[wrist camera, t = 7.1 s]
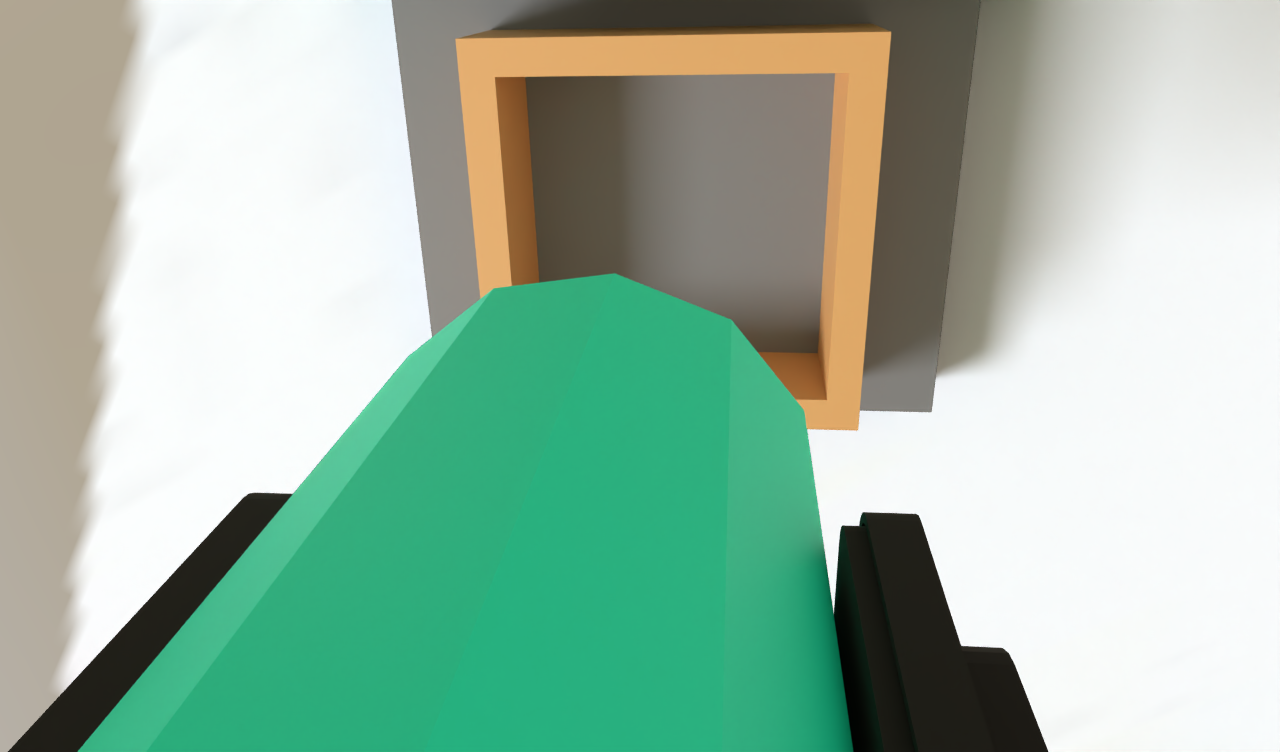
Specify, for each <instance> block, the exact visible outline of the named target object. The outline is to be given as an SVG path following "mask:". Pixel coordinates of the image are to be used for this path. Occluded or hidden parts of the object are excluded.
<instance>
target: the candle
mask: <svg viewBox="0 0 1280 752" xmlns="http://www.w3.org/2000/svg"><path fill="white" fill-rule="evenodd" d="M78 752H853V745H852V738H851V731H850V724H849V717H848V710H847V703H846V697H845V690H844V683H843V676H842V669H841V662H840V655H839V648H838V641H837V634H836V627H835V620H834V613H833V606H832V600H831V593H830V586H829V579H828V572H827V565H826V558H825V551H824V544H823V537H822V530H821V523H820V516H819V509H818V503H817V496H816V489H815V482H814V475H813V468H812V461H811V454H810V447H809V440H808V433H807V426H806V419H805V412H804V410H803V408H802V407H801V406H800V405H799V403H798V402H797V401H796V400H795V398H794V397H793V396H792V395H791V393H790V392H789V391H788V390H787V388H786V387H785V386H784V385H783V383H782V382H781V381H780V380H779V378H778V377H777V376H776V375H775V373H774V372H773V371H772V370H771V368H770V367H769V366H768V365H767V363H766V362H765V361H764V360H763V358H762V357H761V356H760V355H759V353H758V352H757V351H756V350H755V348H754V347H753V346H752V345H751V343H750V342H749V341H748V340H747V338H746V337H745V336H744V335H743V333H742V332H741V331H740V330H739V328H738V327H737V326H736V325H735V324H734V322H733V321H732V320H731V319H728V318H726V317H723V316H721V315H718V314H716V313H713V312H711V311H708V310H706V309H703V308H701V307H698V306H696V305H693V304H691V303H688V302H686V301H683V300H681V299H678V298H676V297H673V296H671V295H668V294H666V293H663V292H660V291H658V290H655V289H653V288H650V287H648V286H645V285H643V284H640V283H638V282H635V281H633V280H630V279H628V278H625V277H623V276H620V275H618V274H615V273H613V274H605V275H597V276H589V277H581V278H573V279H565V280H557V281H548V282H540V283H532V284H524V285H516V286H508V287H500V288H493V289H492V290H491V291H490V292H488V293H487V294H486V295H485V296H483V297H482V298H481V299H480V300H478V301H477V302H476V303H474V304H473V305H472V306H471V307H469V308H468V309H467V310H466V311H464V312H463V313H462V314H461V315H459V316H458V317H457V318H456V319H454V320H453V321H452V322H451V323H449V324H448V325H447V326H446V327H444V328H443V329H442V330H441V331H439V332H438V333H437V334H436V335H434V336H433V337H432V338H431V339H429V340H428V341H427V342H426V343H424V344H423V345H422V346H421V347H419V348H418V349H417V350H416V351H414V352H413V353H412V354H411V355H409V356H408V357H407V358H406V360H405V361H404V362H403V363H402V364H401V366H400V367H399V368H398V369H397V370H396V372H395V373H394V374H393V375H392V376H391V377H390V379H389V380H388V381H387V382H386V383H385V385H384V386H383V387H382V388H381V389H380V391H379V392H378V393H377V394H376V395H375V397H374V398H373V399H372V400H371V401H370V403H369V404H368V405H367V406H366V407H365V409H364V410H363V411H362V412H361V413H360V415H359V416H358V417H357V418H356V419H355V421H354V422H353V423H352V424H351V425H350V427H349V428H348V429H347V430H346V431H345V432H344V434H343V435H342V436H341V437H340V438H339V440H338V441H337V442H336V443H335V444H334V446H333V447H332V448H331V449H330V450H329V452H328V453H327V454H326V455H325V456H324V458H323V459H322V460H321V461H320V462H319V464H318V465H317V466H316V467H315V468H314V470H313V471H312V472H311V473H310V474H309V476H308V477H307V478H306V479H305V480H304V481H303V483H302V484H301V485H300V486H299V487H298V489H297V490H296V491H295V492H294V493H293V495H292V496H291V497H290V498H289V499H288V501H287V502H286V503H285V504H284V505H283V507H282V508H281V509H280V510H279V511H278V513H277V514H276V515H275V516H274V517H273V519H272V520H271V521H270V522H269V523H268V525H267V526H266V527H265V528H264V529H263V531H262V532H261V533H260V534H259V535H258V536H257V538H256V539H255V540H254V541H253V542H252V544H251V545H250V546H249V547H248V548H247V550H246V551H245V552H244V553H243V554H242V556H241V557H240V558H239V559H238V560H237V562H236V563H235V564H234V565H233V566H232V568H231V569H230V570H229V571H228V572H227V574H226V575H225V576H224V577H223V578H222V580H221V581H220V582H219V583H218V584H217V586H216V587H215V588H214V589H213V590H212V591H211V593H210V594H209V595H208V596H207V597H206V599H205V600H204V601H203V602H202V603H201V605H200V606H199V607H198V608H197V609H196V611H195V612H194V613H193V614H192V615H191V617H190V618H189V619H188V620H187V621H186V623H185V624H184V625H183V626H182V627H181V629H180V630H179V631H178V632H177V633H176V635H175V636H174V637H173V638H172V639H171V640H170V642H169V643H168V644H167V645H166V646H165V648H164V649H163V650H162V651H161V652H160V654H159V655H158V656H157V657H156V658H155V660H154V661H153V662H152V663H151V664H150V666H149V667H148V668H147V669H146V670H145V672H144V673H143V674H142V675H141V676H140V678H139V679H138V680H137V681H136V682H135V684H134V685H133V686H132V687H131V688H130V690H129V691H128V692H127V693H126V694H125V695H124V697H123V698H122V699H121V700H120V701H119V703H118V704H117V705H116V706H115V707H114V709H113V710H112V711H111V712H110V713H109V715H108V716H107V717H106V718H105V719H104V721H103V722H102V723H101V724H100V725H99V727H98V728H97V729H96V730H95V731H94V733H93V734H92V735H91V736H90V737H89V739H88V740H87V741H86V742H85V743H84V744H83V746H82V747H81V748H80V749H79V750H78Z"/></svg>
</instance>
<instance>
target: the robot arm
mask: <svg viewBox="0 0 1280 752" xmlns="http://www.w3.org/2000/svg"><path fill="white" fill-rule="evenodd" d="M292 495H293V494H279V493H250V494H248V495H247V496H245V497H244V498H243V499H242V500H241V501H240V502H239V503H238V504H237V505H236V506H235V507H234V508H233V509H232V511H231V512H230V513H229V514H228V515H227V516H226V517H225V518H224V519H223V520H222V521H221V522H220V524H219V525H218V526H217V527H216V528H215V529H214V530H213V531H212V532H211V533H210V534H209V535H208V536H207V538H206V539H205V540H204V541H203V542H202V543H201V544H200V545H199V546H198V547H197V548H196V549H195V550H194V552H193V553H192V554H191V555H190V556H189V557H188V558H187V559H186V560H185V561H184V562H183V563H182V564H181V566H180V567H179V568H178V569H177V570H176V571H175V572H174V573H173V574H172V575H171V576H170V577H169V579H168V580H167V581H166V582H165V583H164V584H163V585H162V586H161V587H160V588H159V589H158V590H157V591H156V593H155V594H154V595H153V596H152V597H151V598H150V599H149V600H148V601H147V602H146V603H145V604H144V605H143V607H142V608H141V609H140V610H139V611H138V612H137V613H136V614H135V615H134V616H133V617H132V618H131V620H130V621H129V622H128V623H127V624H126V625H125V626H124V627H123V628H122V629H121V630H120V631H119V632H118V634H117V635H116V636H115V637H114V638H113V639H112V640H111V641H110V642H109V643H108V644H107V645H106V646H105V648H104V649H103V650H102V651H101V652H100V653H99V654H98V655H97V656H96V657H95V658H94V659H93V661H92V662H91V663H90V664H89V665H88V666H87V667H86V668H85V669H84V670H83V671H82V672H81V673H80V675H79V676H78V677H77V678H76V679H75V680H74V681H73V682H72V683H71V684H70V685H69V686H68V687H67V689H66V690H65V691H64V692H63V693H62V694H61V695H60V696H59V697H58V698H57V699H56V701H55V702H54V703H53V704H52V705H51V706H50V707H49V708H48V709H47V710H46V711H45V713H43V714H42V716H41V717H40V718H39V719H38V720H37V721H36V722H35V723H34V724H33V725H32V726H31V727H30V728H29V730H28V731H27V732H26V733H25V734H24V735H23V736H22V737H21V738H20V739H19V740H18V741H17V743H16V744H15V745H14V746H13V747H12V748H11V749H10V750H9V751H8V752H78V750H79V749H80V748H81V747H82V746H83V744H84V743H85V742H86V741H87V740H88V739H89V737H90V736H91V735H92V734H93V733H94V731H95V730H96V729H97V728H98V727H99V725H100V724H101V723H102V722H103V721H104V719H105V718H106V717H107V716H108V715H109V713H110V712H111V711H112V710H113V709H114V707H115V706H116V705H117V704H118V703H119V701H120V700H121V699H122V698H123V697H124V695H125V694H126V693H127V692H128V691H129V690H130V688H131V687H132V686H133V685H134V684H135V682H136V681H137V680H138V679H139V678H140V676H141V675H142V674H143V673H144V672H145V670H146V669H147V668H148V667H149V666H150V664H151V663H152V662H153V661H154V660H155V658H156V657H157V656H158V655H159V654H160V652H161V651H162V650H163V649H164V648H165V646H166V645H167V644H168V643H169V642H170V640H171V639H172V638H173V637H174V636H175V635H176V633H177V632H178V631H179V630H180V629H181V627H182V626H183V625H184V624H185V623H186V621H187V620H188V619H189V618H190V617H191V615H192V614H193V613H194V612H195V611H196V609H197V608H198V607H199V606H200V605H201V603H202V602H203V601H204V600H205V599H206V597H207V596H208V595H209V594H210V593H211V591H212V590H213V589H214V588H215V587H216V586H217V584H218V583H219V582H220V581H221V580H222V578H223V577H224V576H225V575H226V574H227V572H228V571H229V570H230V569H231V568H232V566H233V565H234V564H235V563H236V562H237V560H238V559H239V558H240V557H241V556H242V554H243V553H244V552H245V551H246V550H247V548H248V547H249V546H250V545H251V544H252V542H253V541H254V540H255V539H256V538H257V536H258V535H259V534H260V533H261V532H262V531H263V529H264V528H265V527H266V526H267V525H268V523H269V522H270V521H271V520H272V519H273V517H274V516H275V515H276V514H277V513H278V511H279V510H280V509H281V508H282V507H283V505H284V504H285V503H286V502H287V501H288V499H289V498H290V497H291V496H292ZM834 620H835V627H836V634H837V641H838V648H839V655H840V662H841V669H842V676H843V683H844V690H845V697H846V703H847V710H848V717H849V724H850V731H851V738H852V745H853V752H1048V750H1047V747H1046V744H1045V742H1044V739H1043V737H1042V734H1041V732H1040V729H1039V726H1038V724H1037V721H1036V719H1035V716H1034V713H1033V711H1032V708H1031V706H1030V703H1029V701H1028V698H1027V695H1026V693H1025V690H1024V688H1023V685H1022V683H1021V680H1020V677H1019V675H1018V672H1017V670H1016V667H1015V665H1014V663H1013V661H1012V659H1011V657H1010V655H1009V653H1008V652H1007V651H1005V650H1004V649H1003V648H991V647H969V646H961V644H960V641H959V638H958V635H957V632H956V629H955V626H954V623H953V619H952V616H951V613H950V610H949V607H948V604H947V601H946V598H945V594H944V591H943V588H942V585H941V582H940V579H939V576H938V573H937V569H936V566H935V563H934V560H933V557H932V554H931V551H930V548H929V544H928V541H927V538H926V535H925V532H924V529H923V526H922V523H921V520H920V518H919V515H917V514H899V513H868V512H863V513H862V515H861V519H860V525H859V526H842V527H841V531H840V540H839V553H838V566H837V580H836V593H835V606H834Z"/></svg>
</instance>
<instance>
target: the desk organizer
mask: <svg viewBox="0 0 1280 752" xmlns="http://www.w3.org/2000/svg"><path fill="white" fill-rule="evenodd" d="M392 8H393V16H394V24H395V32H396V41H397V49H398V57H399V66H400V74H401V82H402V91H403V99H404V107H405V115H406V124H407V132H408V140H409V149H410V157H411V165H412V174H413V182H414V190H415V198H416V207H417V215H418V223H419V232H420V240H421V248H422V257H423V265H424V273H425V281H426V290H427V298H428V306H429V315H430V323H431V331H432V337H433V336H434V335H436V334H437V333H438V332H439V331H441V330H442V329H443V328H444V327H446V326H447V325H448V324H449V323H451V322H452V321H453V320H454V319H456V318H457V317H458V316H459V315H461V314H462V313H463V312H464V311H466V310H467V309H468V308H469V307H471V306H472V305H473V304H474V303H476V302H477V301H478V300H480V299H481V298H482V297H483V296H485V295H486V294H487V293H488V292H490V291H491V290H492V289H493V288H500V287H508V286H516V285H524V284H532V283H540V282H548V281H557V280H565V279H573V278H581V277H589V276H597V275H605V274H613V273H615V274H618V275H620V276H623V277H625V278H628V279H630V280H633V281H635V282H638V283H640V284H643V285H645V286H648V287H650V288H653V289H655V290H658V291H660V292H663V293H666V294H668V295H671V296H673V297H676V298H678V299H681V300H683V301H686V302H688V303H691V304H693V305H696V306H698V307H701V308H703V309H706V310H708V311H711V312H713V313H716V314H718V315H721V316H723V317H726V318H728V319H731V320H732V321H733V322H734V324H735V325H736V326H737V327H738V328H739V330H740V331H741V332H742V333H743V335H744V336H745V337H746V338H747V340H748V341H749V342H750V343H751V345H752V346H753V347H754V348H755V350H756V351H757V352H758V353H759V355H760V356H761V357H762V358H763V360H764V361H765V362H766V363H767V365H768V366H769V367H770V368H771V370H772V371H773V372H774V373H775V375H776V376H777V377H778V378H779V380H780V381H781V382H782V383H783V385H784V386H785V387H786V388H787V390H788V391H789V392H790V393H791V395H792V396H793V397H794V398H795V400H796V401H797V402H798V403H799V405H800V406H801V407H802V408H803V410H804V412H805V419H806V426H807V429H824V430H858V424H859V412H860V410H863V411H903V412H932V404H933V396H934V387H935V379H936V370H937V362H938V354H939V345H940V337H941V328H942V320H943V311H944V303H945V295H946V286H947V278H948V269H949V261H950V252H951V244H952V236H953V227H954V219H955V210H956V202H957V194H958V185H959V177H960V168H961V160H962V151H963V143H964V135H965V126H966V118H967V109H968V101H969V92H970V84H971V76H972V67H973V59H974V50H975V42H976V33H977V25H978V17H979V8H980V0H392Z"/></svg>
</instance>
